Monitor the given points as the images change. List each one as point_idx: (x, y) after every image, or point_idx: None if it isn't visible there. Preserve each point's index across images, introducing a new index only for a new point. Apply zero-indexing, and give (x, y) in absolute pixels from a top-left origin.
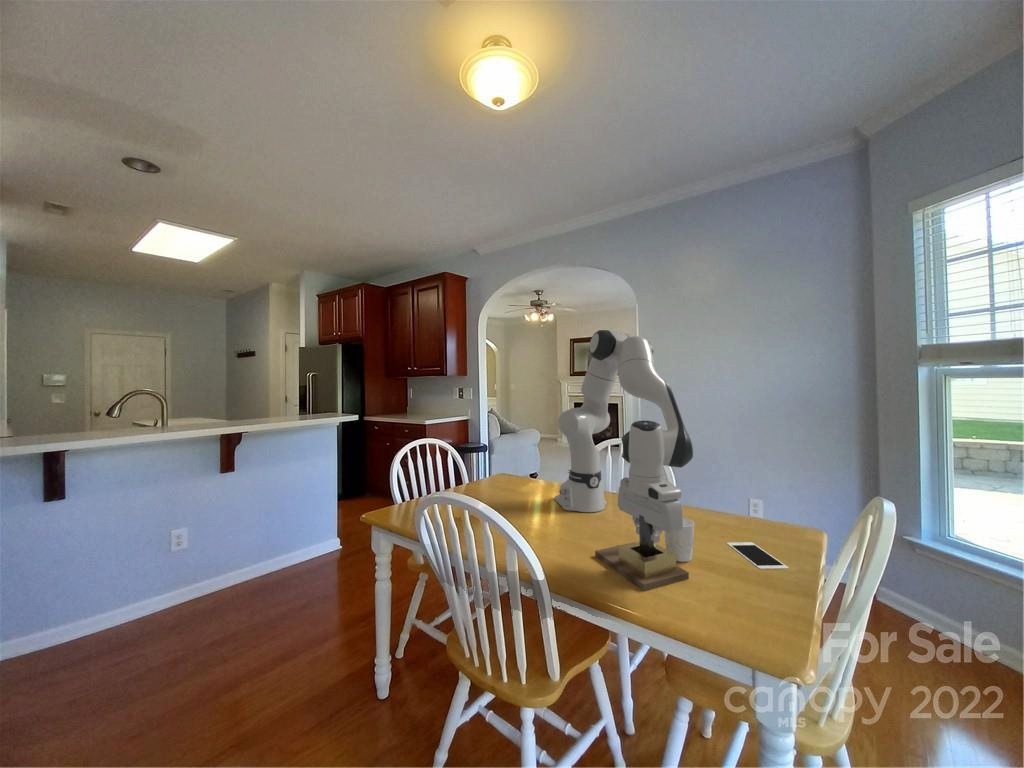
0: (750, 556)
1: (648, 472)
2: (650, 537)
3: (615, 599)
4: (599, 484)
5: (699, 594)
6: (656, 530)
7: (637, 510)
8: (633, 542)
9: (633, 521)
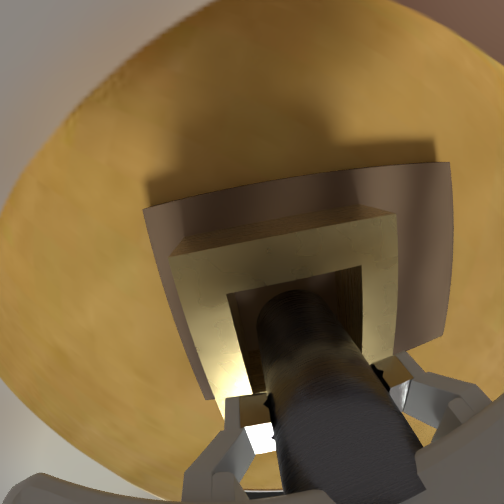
0: (270, 494)
1: None
2: (271, 405)
3: (128, 83)
4: None
5: (119, 360)
6: (187, 475)
7: (467, 501)
8: (443, 329)
9: (461, 381)
